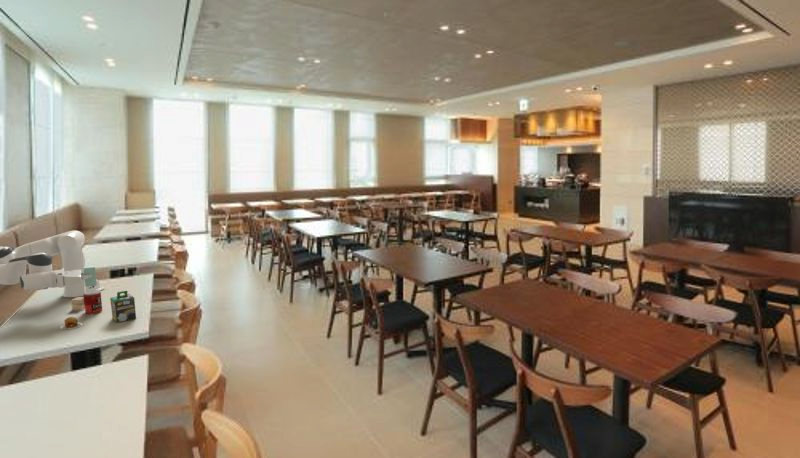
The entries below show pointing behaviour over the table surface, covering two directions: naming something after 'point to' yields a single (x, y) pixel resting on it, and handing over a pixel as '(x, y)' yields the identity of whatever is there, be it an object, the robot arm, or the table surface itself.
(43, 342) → the table surface
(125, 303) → the chalk box
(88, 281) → the teal block
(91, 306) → the canned food
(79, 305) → the oak block
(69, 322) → the hamburger
